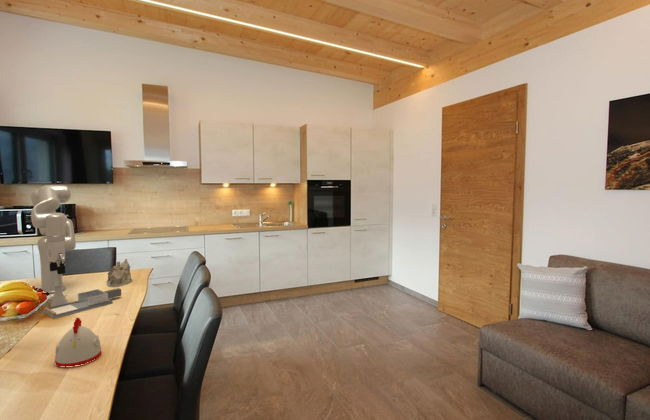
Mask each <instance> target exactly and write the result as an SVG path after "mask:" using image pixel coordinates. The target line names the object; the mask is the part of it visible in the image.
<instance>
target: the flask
mask: <svg viewBox="0 0 650 420" xmlns="http://www.w3.org/2000/svg"><path fill="white" fill-rule="evenodd" d="M54 288H55V293H53V298H52V300H51V302H50V305H49V308H50V307H54V306H59V305H63V304H67V303H69V302H68V300H67V299H66V297H65V296H64V293H63V291H62V286H56V287H54Z"/></svg>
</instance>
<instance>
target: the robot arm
mask: <svg viewBox="0 0 650 420" xmlns="http://www.w3.org/2000/svg"><path fill="white" fill-rule="evenodd" d="M71 197H72V193H71V189H70V188H69V186H67V185H65V184H64V185H63V184H57V185H56V184H55V185H54V184H51V185H50V184H47V185H42V186H41V187H39V188H38V189H33V190H32V191H31V192H30V201H31V204H32V205H33V208H32V210H31V211H30V216H31V217H30V218H31V224H32V226H33V227H34V228H35V229H39V233H40V235H42V236H44V237H41V238H39V239H38V240H37V250H38V254H39V262H40V264H39V265H40V281H41V288H40V289H42V290H43V291H44V292H48V293H49V294H55V288H54V287H56V286H62V292H63V291H65V290H66V289H67V286H66V285H63V274H65V273H66V252H71V251H74V250H75V249H76V236H75V235H76V234H75V228H74V222H73V221H72V219H70V218H68V217H67V215H66V214H65V213H63V212H57V211H56V210H58V209H59V208H60V206H61V204H65V203H68V202H69V200H70V199H71Z"/></svg>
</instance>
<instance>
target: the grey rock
mask: <svg viewBox="0 0 650 420" xmlns="http://www.w3.org/2000/svg"><path fill="white" fill-rule="evenodd" d="M107 275H108V276H107V280H106V286H107V287H110V288H119V287H123V286H126V285H129V284H131V283H133V279H132V274H131V266H130V264H129V261H128V259H127V258H125V259H124V261H123V262H121V261H116V264H115V265H114V266H112V267H111V269H110V270H109V271H108V272H107Z"/></svg>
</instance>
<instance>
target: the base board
mask: <svg viewBox="0 0 650 420" xmlns="http://www.w3.org/2000/svg"><path fill="white" fill-rule="evenodd" d="M113 303H114V302H113V300H110V299H108V301H107V302H103V303H99V304H95V305H91V306H87V300H86V301H82V302H78V300H77V301H73V302H68V303H67V304H63V305H59V306H54V307H50V306H49V307H47V306H46V307H43V309H44V310H42V312H43V313H44V314H45V315H47V316H48V317H50V318H52V319H59V318H61V317H65V316H69V315H73V314H76V313H80V312H81V313H82V312H84V311H88V310H92V309H97V308H100V307H104V306H107V305H111V304H113Z"/></svg>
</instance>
